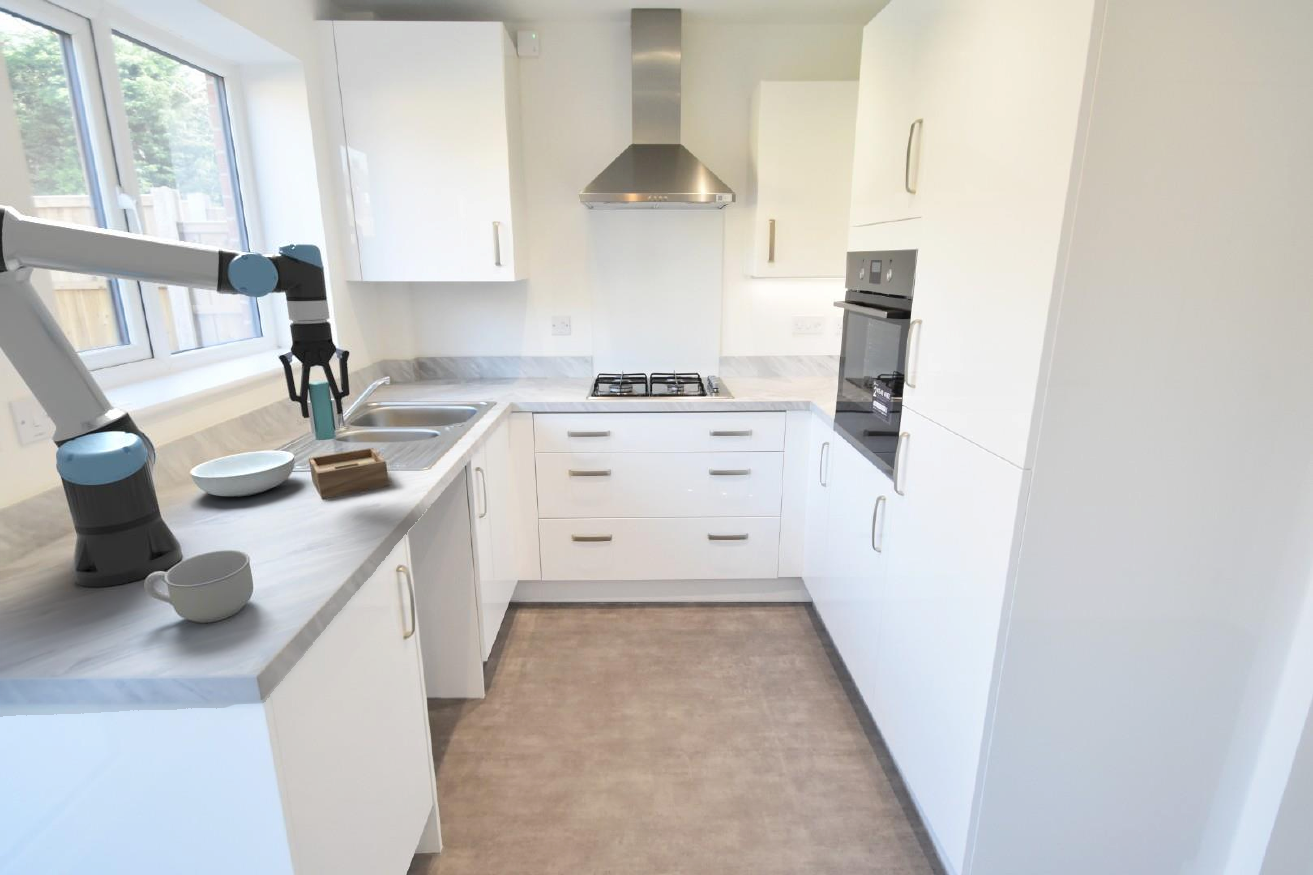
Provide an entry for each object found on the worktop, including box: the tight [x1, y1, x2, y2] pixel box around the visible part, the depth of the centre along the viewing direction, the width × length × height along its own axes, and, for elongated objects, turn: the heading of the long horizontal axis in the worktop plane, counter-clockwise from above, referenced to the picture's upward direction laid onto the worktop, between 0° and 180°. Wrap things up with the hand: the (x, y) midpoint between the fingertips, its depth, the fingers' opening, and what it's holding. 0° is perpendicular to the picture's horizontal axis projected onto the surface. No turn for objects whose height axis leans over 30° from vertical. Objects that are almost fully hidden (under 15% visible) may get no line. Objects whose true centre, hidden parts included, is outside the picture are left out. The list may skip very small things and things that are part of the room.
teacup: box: [143, 549, 254, 624], centre depth 100 cm, size 14×11×8 cm
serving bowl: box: [189, 450, 295, 497], centre depth 154 cm, size 21×21×7 cm
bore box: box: [308, 447, 390, 499], centre depth 157 cm, size 15×15×6 cm
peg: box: [308, 381, 337, 441], centre depth 141 cm, size 4×4×12 cm
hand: (324, 430), depth 142 cm, fingers closed on peg, 4 cm apart
